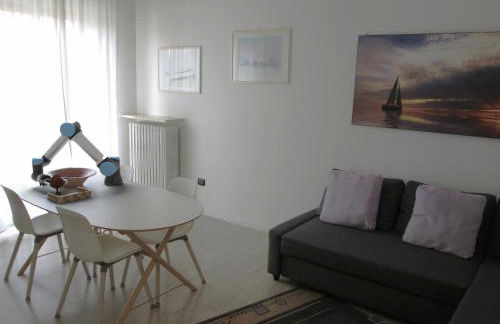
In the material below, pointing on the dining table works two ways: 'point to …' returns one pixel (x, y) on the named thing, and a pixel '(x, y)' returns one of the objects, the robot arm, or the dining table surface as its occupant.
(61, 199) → the bay
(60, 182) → the ice cream bowl
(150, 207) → the dining table surface
